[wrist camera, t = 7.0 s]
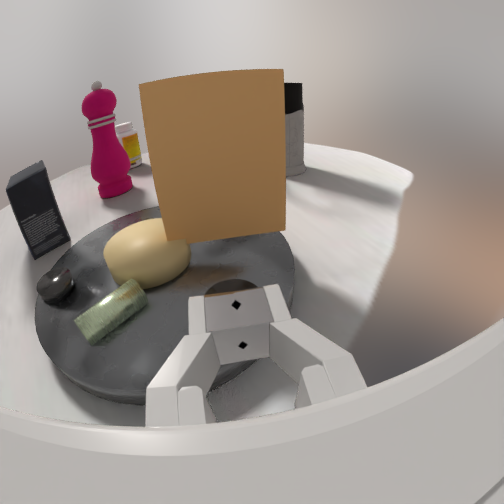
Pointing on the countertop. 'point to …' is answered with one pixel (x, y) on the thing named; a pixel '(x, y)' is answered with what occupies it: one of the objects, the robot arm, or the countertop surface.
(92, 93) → the pepper mill
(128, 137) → the supplement bottle
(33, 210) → the small box
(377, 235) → the countertop surface
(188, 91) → the tan slab with dome
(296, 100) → the glass holder
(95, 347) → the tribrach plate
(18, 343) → the countertop surface
